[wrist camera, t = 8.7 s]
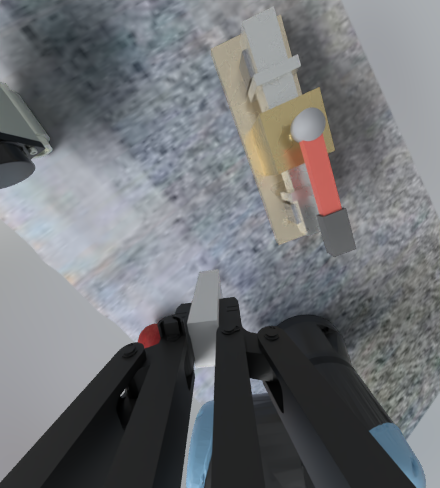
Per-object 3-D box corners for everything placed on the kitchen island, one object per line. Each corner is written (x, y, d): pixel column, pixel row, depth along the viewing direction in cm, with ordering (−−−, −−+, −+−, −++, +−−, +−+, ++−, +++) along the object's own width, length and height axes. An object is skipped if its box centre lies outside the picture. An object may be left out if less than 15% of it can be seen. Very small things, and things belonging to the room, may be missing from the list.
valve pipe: (332, 221, 37) (377, 236, 27) (276, 242, 39) (298, 265, 28) (277, 22, 30) (309, -68, 19) (211, 55, 31) (206, -13, 20)
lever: (286, 120, 23) (291, 114, 21) (313, 108, 23) (321, 101, 21) (325, 252, 27) (332, 257, 25) (349, 244, 27) (358, 248, 25)
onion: (173, 314, 42) (162, 343, 35) (176, 339, 44) (167, 372, 36) (143, 315, 43) (126, 345, 35) (148, 340, 44) (132, 374, 36)
